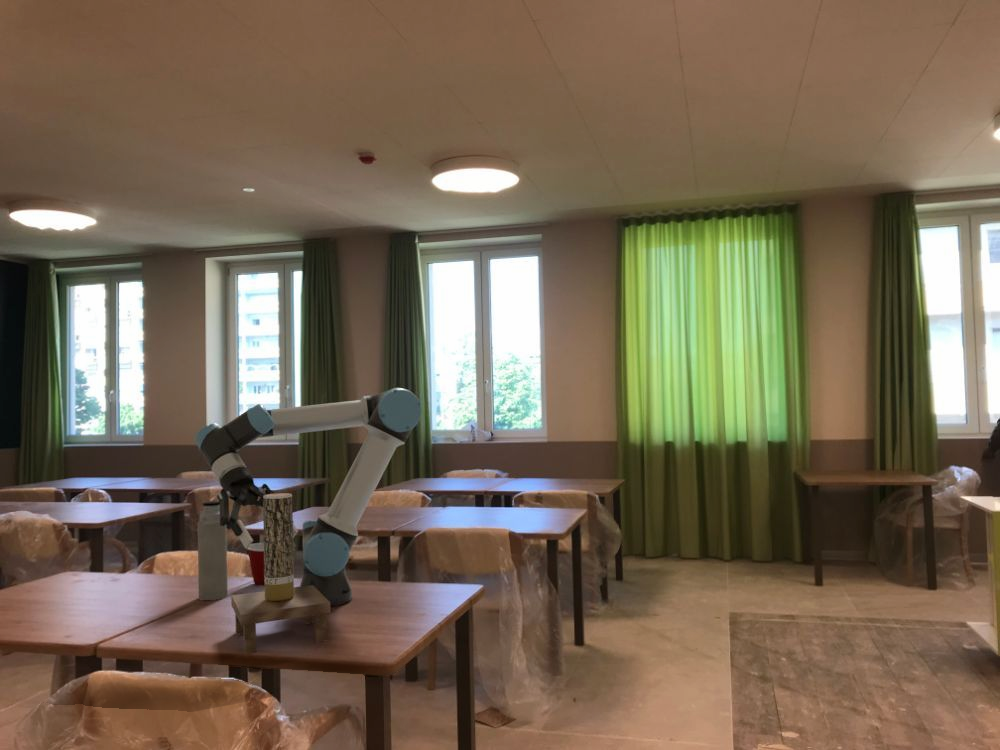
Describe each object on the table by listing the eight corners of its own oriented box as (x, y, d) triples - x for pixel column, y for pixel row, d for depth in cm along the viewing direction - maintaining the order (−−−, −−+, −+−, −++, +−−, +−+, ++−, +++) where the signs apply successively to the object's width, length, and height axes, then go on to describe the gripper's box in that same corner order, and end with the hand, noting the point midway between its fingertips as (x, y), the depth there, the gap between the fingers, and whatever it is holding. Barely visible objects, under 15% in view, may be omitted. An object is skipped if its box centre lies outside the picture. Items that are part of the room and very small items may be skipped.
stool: (313, 620, 195) (312, 584, 196) (331, 641, 177) (330, 602, 178) (231, 632, 187) (231, 595, 187) (241, 655, 169) (241, 614, 169)
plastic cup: (271, 587, 232) (271, 548, 232) (239, 587, 234) (239, 548, 234) (288, 579, 242) (287, 542, 243) (257, 579, 244) (257, 541, 245)
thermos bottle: (216, 592, 228) (214, 499, 229) (233, 595, 223) (231, 500, 224) (192, 598, 221) (191, 502, 222) (210, 602, 217) (208, 504, 218)
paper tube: (285, 593, 187) (283, 492, 188) (299, 598, 182) (297, 494, 183) (259, 599, 182) (258, 495, 183) (273, 604, 177) (271, 497, 178)
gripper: (266, 480, 204) (304, 541, 195) (182, 490, 183) (221, 559, 174) (279, 461, 201) (318, 522, 192) (195, 469, 180) (235, 538, 172)
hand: (272, 540), depth 183 cm, fingers open, 13 cm apart
